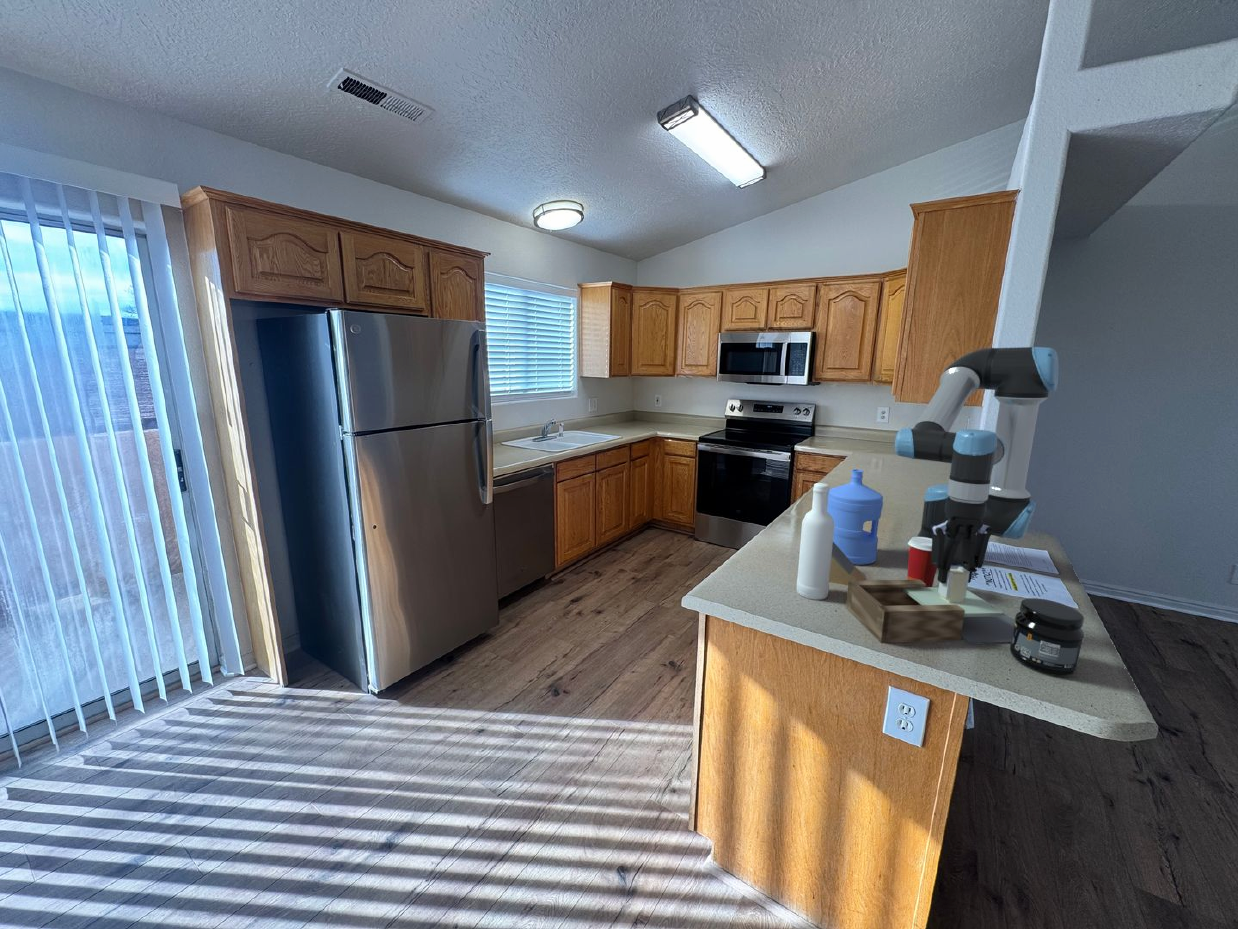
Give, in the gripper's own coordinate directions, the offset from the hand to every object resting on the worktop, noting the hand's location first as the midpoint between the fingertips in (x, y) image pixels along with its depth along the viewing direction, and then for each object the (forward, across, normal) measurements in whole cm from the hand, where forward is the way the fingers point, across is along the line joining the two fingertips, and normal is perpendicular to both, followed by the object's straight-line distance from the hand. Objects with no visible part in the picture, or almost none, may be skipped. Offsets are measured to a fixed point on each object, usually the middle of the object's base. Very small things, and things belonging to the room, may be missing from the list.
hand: (951, 595), depth 114 cm
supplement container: (+7, -8, +16) cm, 19 cm away
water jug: (+7, +3, -41) cm, 42 cm away
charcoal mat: (+7, -7, 0) cm, 10 cm away
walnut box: (+7, +12, 0) cm, 14 cm away
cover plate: (+2, 0, 0) cm, 2 cm away
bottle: (+7, +26, -16) cm, 31 cm away
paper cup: (+7, -4, -17) cm, 19 cm away
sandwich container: (+7, +15, -25) cm, 30 cm away
